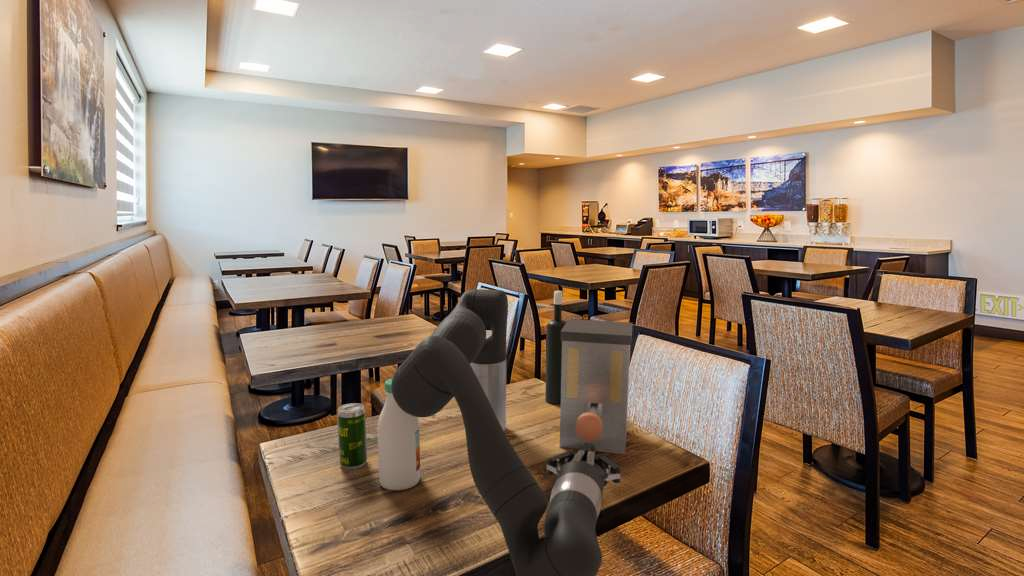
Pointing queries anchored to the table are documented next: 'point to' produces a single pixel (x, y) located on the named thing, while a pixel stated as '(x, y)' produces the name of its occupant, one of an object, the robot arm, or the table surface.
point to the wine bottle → (554, 353)
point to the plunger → (589, 424)
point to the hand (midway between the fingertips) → (588, 448)
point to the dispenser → (595, 380)
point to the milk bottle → (397, 445)
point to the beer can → (352, 436)
